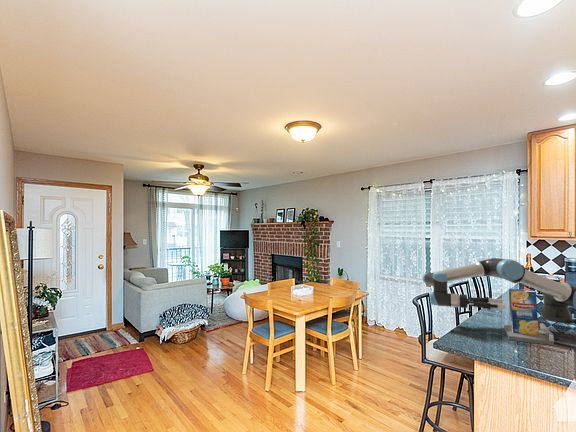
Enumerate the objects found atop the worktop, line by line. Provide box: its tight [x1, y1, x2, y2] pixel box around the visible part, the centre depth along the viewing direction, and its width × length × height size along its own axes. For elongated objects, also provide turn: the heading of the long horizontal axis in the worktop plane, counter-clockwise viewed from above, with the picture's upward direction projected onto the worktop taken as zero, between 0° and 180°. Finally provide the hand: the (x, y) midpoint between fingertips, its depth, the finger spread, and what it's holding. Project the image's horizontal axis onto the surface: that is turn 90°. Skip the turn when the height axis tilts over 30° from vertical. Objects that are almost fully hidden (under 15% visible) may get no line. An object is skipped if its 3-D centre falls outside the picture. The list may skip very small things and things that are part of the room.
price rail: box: [539, 322, 555, 341], centre depth 164 cm, size 22×2×3 cm, turn 151°
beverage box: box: [508, 288, 539, 335], centre depth 168 cm, size 7×11×22 cm, turn 62°
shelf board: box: [503, 324, 555, 346], centre depth 167 cm, size 22×18×2 cm
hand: (503, 304), depth 173 cm, fingers open, 13 cm apart
